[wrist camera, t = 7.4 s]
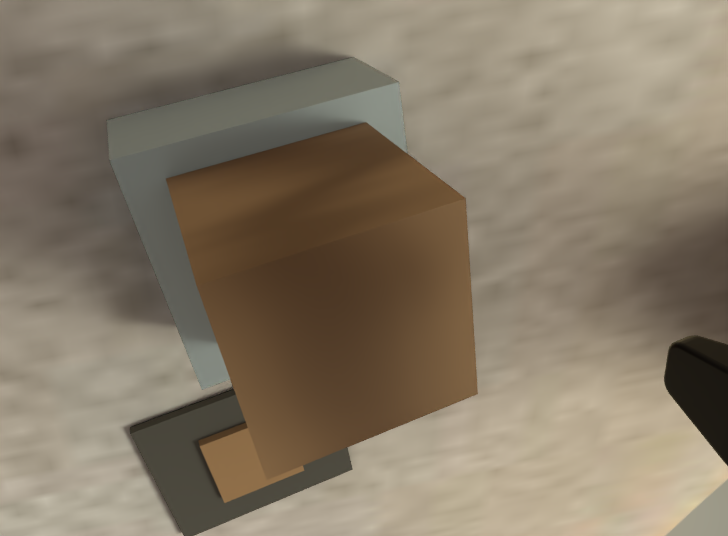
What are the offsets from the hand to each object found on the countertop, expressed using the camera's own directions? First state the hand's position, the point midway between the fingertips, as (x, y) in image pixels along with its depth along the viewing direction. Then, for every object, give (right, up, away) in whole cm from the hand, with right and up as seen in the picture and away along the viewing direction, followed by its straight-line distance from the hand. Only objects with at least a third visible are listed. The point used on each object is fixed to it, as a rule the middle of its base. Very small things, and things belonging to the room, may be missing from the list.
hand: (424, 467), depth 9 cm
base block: (-4, +5, +10) cm, 12 cm away
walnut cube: (-3, +4, +7) cm, 8 cm away
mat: (-5, -4, +14) cm, 16 cm away
